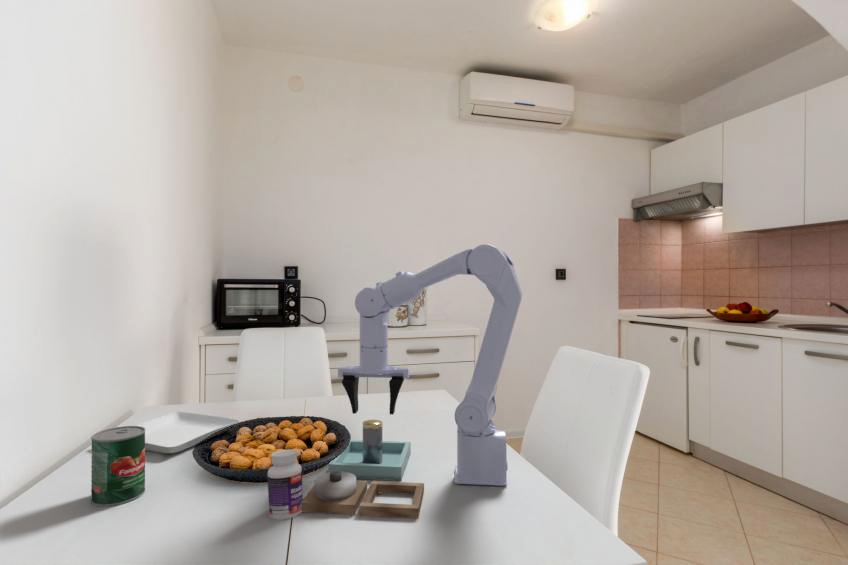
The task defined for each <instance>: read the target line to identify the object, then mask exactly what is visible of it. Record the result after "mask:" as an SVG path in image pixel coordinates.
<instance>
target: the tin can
mask: <svg viewBox="0 0 848 565" xmlns="http://www.w3.org/2000/svg"><path fill="white" fill-rule="evenodd" d="M362 440H363V464H381V463H382V441H383V421H382V420H381V419H380V420H379V419H366V420H364V421H363V422H362Z"/></svg>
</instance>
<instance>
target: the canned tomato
mask: <svg viewBox="0 0 848 565" xmlns="http://www.w3.org/2000/svg"><path fill="white" fill-rule="evenodd" d="M90 438H91V457H90V458H91V479H90V480H91V485H90V486H91V487H90V488H91V489H90V490H91V499H90V503H91V505H93V506H94V507H95V506H96V507H100V506H101V507H102V508H105V507H106V508H107V507H113V506H114V507H115V506H120V505H123V504H127V503H131V502H132V501H133V502H134V501H135V500H137V499H139V498H140V497H141V496H143V495H144V494H145V492H146V450H145V428H144V427H140V426H134V425H126V426H117V427H112V428H108V429H104V430H100V431H98V432H96V433H94V434H92V435H91V437H90ZM101 507H100V508H101Z"/></svg>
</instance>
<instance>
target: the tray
mask: <svg viewBox="0 0 848 565" xmlns="http://www.w3.org/2000/svg"><path fill="white" fill-rule="evenodd" d="M349 440H350V443H349V446H348V448H347V449H346V450H345V451H344V452H343V453H342V454H341V455H339V456H338V457H337V458H335V459H334V460H332V459H331V460H332V461H330V462H329V463H328V473H329V472H335V471H343V472H349V473H352V474H354V475H355V476H356V480H358V479H359V480H381V481H402V480H403V476H404V475H405V471H406V468H407V465H408V463H409V460H410V456H411V452H412V451H411V450H412V448H411V447H412V446H411V445H412V444H411V441H396V440H395V441H392V440H391V441H390V440H382V463H381V464H363V439H362V440H361V439H349Z"/></svg>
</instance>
